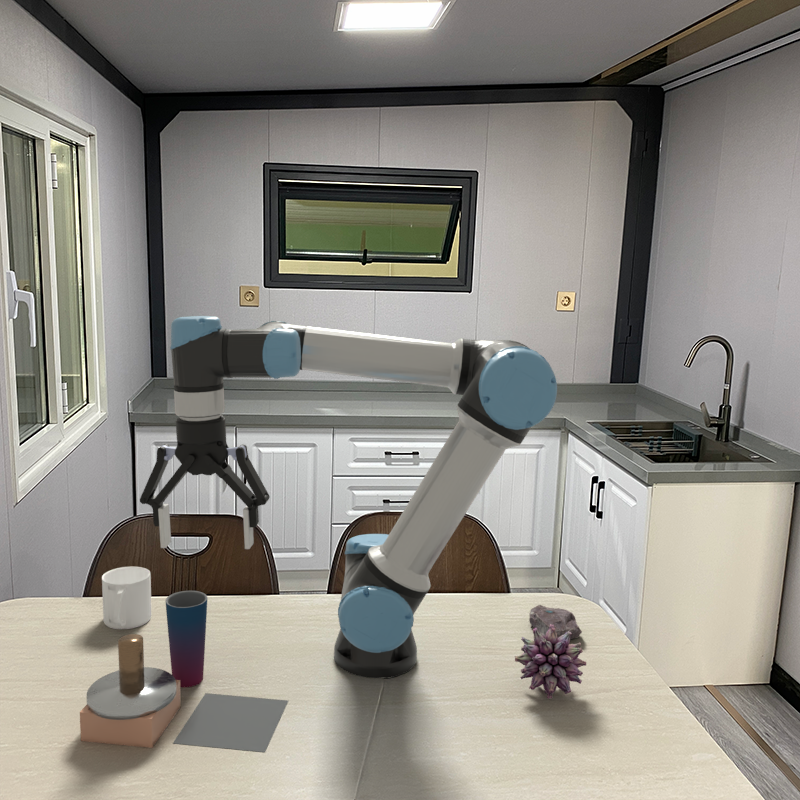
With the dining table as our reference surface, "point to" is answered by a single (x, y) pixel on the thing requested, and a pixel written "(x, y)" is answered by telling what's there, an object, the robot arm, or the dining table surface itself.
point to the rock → (554, 621)
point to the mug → (126, 597)
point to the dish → (129, 726)
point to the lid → (131, 685)
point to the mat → (232, 722)
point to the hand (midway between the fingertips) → (207, 545)
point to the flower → (551, 661)
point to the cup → (187, 635)
